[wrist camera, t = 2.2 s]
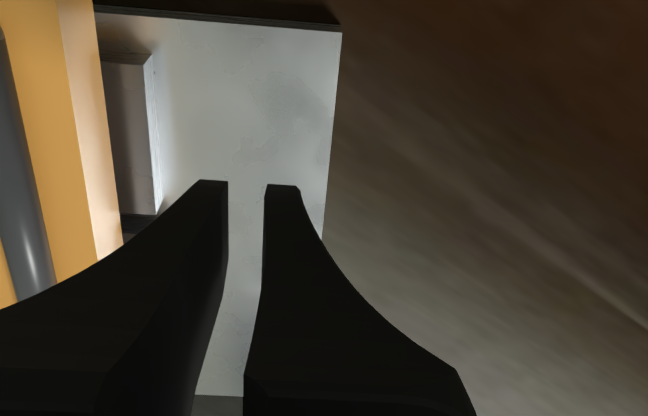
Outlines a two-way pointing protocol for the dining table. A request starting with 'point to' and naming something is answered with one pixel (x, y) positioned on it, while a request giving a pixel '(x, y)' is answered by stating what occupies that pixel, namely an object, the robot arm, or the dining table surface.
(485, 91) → the dining table surface
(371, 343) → the robot arm
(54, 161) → the cable arm
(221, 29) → the server panel
